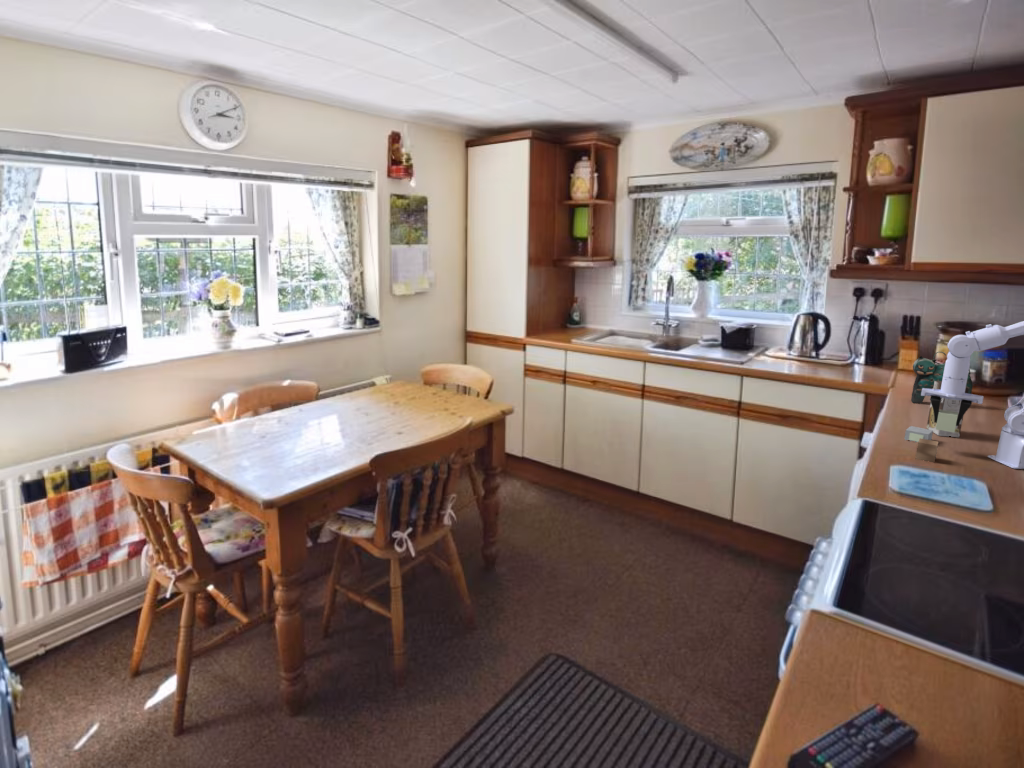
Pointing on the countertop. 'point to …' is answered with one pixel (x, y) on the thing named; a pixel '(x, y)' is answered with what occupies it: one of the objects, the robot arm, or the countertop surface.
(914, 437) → the base block
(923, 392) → the robot arm
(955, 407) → the coffee box
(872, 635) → the countertop surface
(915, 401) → the ceramic cat
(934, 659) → the countertop surface
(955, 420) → the sage block
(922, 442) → the walnut block
